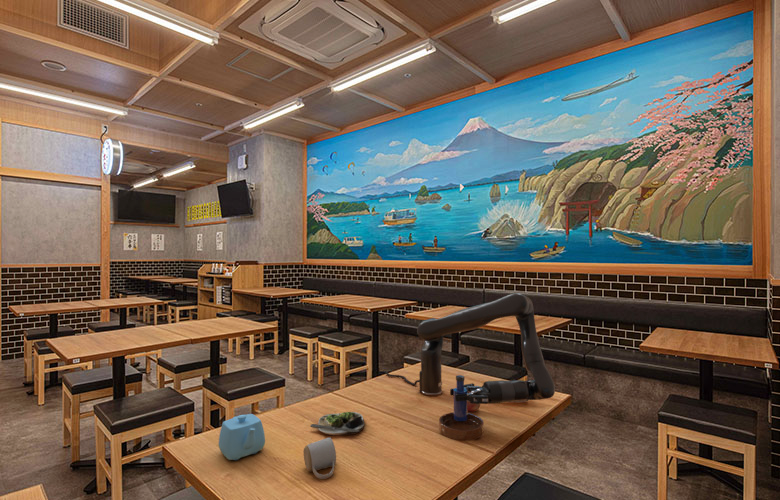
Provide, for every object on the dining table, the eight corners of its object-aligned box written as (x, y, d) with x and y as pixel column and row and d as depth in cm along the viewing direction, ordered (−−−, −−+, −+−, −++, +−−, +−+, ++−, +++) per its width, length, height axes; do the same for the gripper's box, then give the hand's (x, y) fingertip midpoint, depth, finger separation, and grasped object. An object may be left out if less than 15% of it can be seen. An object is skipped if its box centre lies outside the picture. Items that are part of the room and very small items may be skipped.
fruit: (468, 417, 146) (468, 396, 146) (457, 409, 153) (456, 389, 153) (484, 413, 149) (484, 392, 149) (473, 406, 156) (472, 386, 156)
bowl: (433, 436, 130) (432, 425, 130) (447, 419, 144) (447, 409, 144) (476, 446, 123) (476, 434, 123) (488, 428, 136) (488, 416, 136)
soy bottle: (451, 419, 132) (451, 377, 133) (456, 414, 137) (455, 373, 137) (465, 422, 130) (464, 379, 130) (469, 417, 134) (468, 375, 135)
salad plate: (309, 441, 128) (309, 427, 128) (311, 419, 145) (311, 407, 145) (366, 436, 131) (366, 422, 131) (361, 415, 149) (361, 403, 149)
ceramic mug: (302, 465, 113) (302, 439, 113) (328, 457, 117) (328, 432, 117) (312, 484, 104) (312, 456, 104) (341, 475, 108) (340, 448, 108)
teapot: (233, 472, 109) (233, 432, 110) (214, 449, 123) (214, 413, 123) (274, 457, 118) (274, 420, 118) (252, 437, 131) (251, 403, 131)
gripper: (490, 375, 143) (446, 377, 140) (507, 388, 129) (459, 391, 126) (490, 395, 143) (446, 398, 140) (508, 410, 129) (459, 414, 126)
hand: (453, 394), depth 133 cm, fingers closed on soy bottle, 5 cm apart
